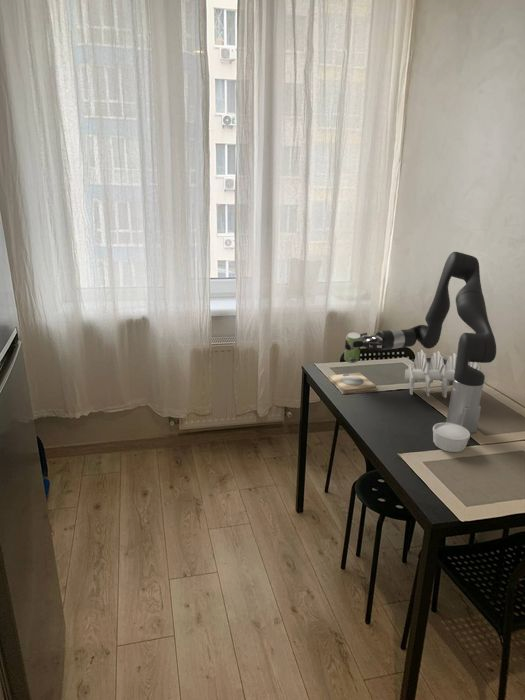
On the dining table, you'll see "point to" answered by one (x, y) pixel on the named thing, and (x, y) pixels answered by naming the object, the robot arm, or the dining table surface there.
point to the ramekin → (450, 437)
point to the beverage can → (352, 348)
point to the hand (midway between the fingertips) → (350, 342)
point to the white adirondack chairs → (433, 371)
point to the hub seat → (351, 382)
